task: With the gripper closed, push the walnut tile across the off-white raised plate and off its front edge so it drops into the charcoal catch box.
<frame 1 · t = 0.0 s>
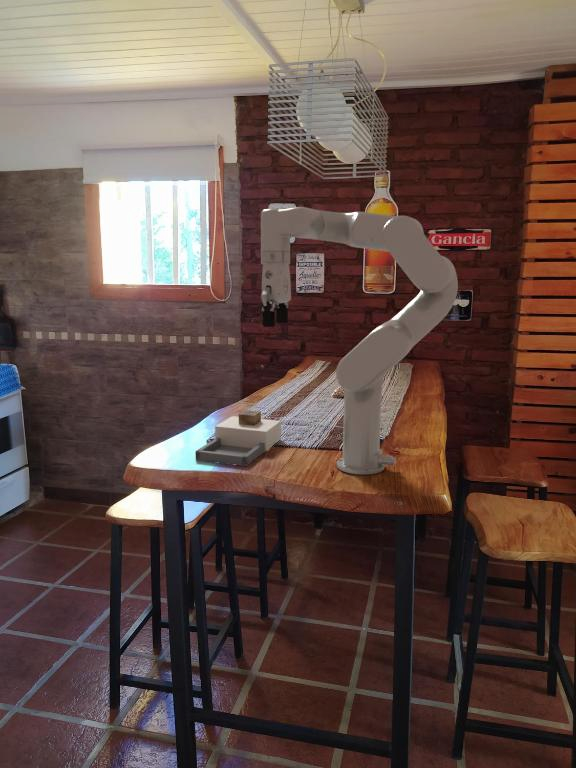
hand: (275, 324, 159), 37 cm above the table, tool pointing down, fingers open, 9 cm apart
raised plate: (248, 442, 179), on the table
catch box: (236, 452, 171), on the table
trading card: (323, 435, 189), on the table
walnut tile: (249, 422, 179), point 6 cm above the table, touching raised plate
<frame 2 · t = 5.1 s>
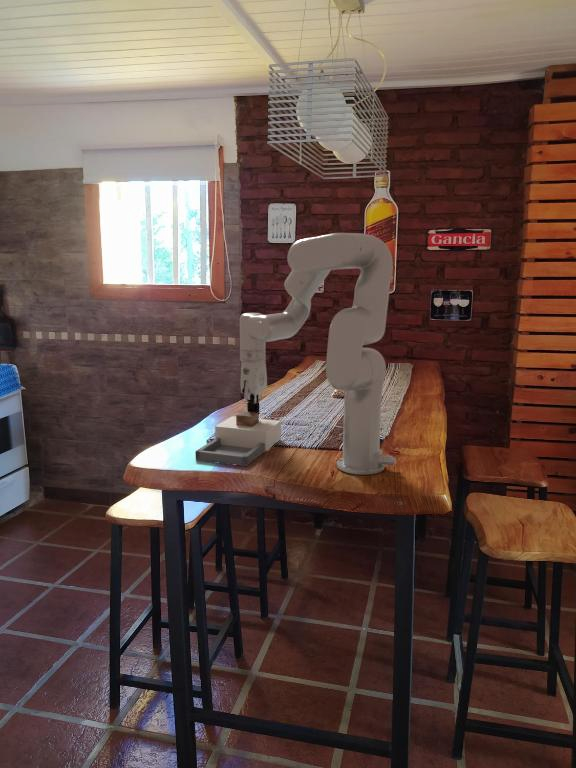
hand: (253, 415, 181), 8 cm above the table, tool pointing down, fingers closed
walnut tile: (247, 423, 177), point 6 cm above the table
everything else where it was.
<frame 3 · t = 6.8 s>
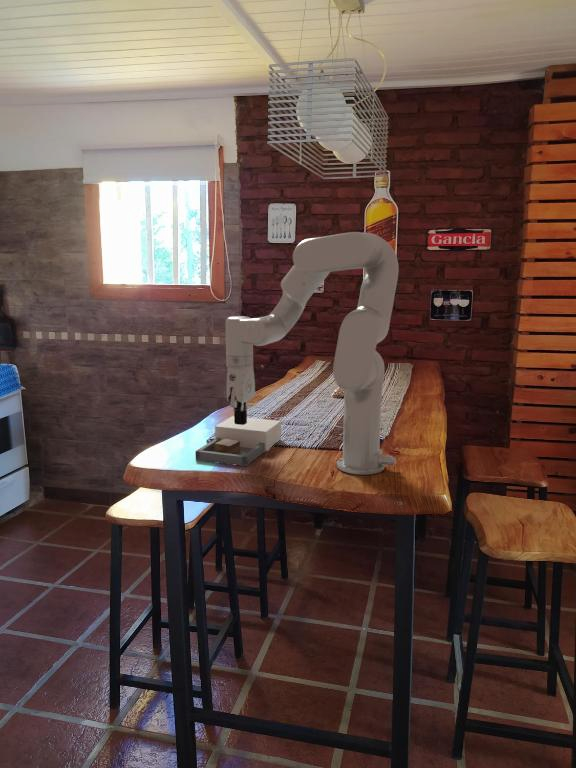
hand: (240, 423, 172), 7 cm above the table, tool pointing down, fingers closed
walnut tile: (227, 442, 168), point 4 cm above the table, tilted 180°, touching catch box
everything else where it was.
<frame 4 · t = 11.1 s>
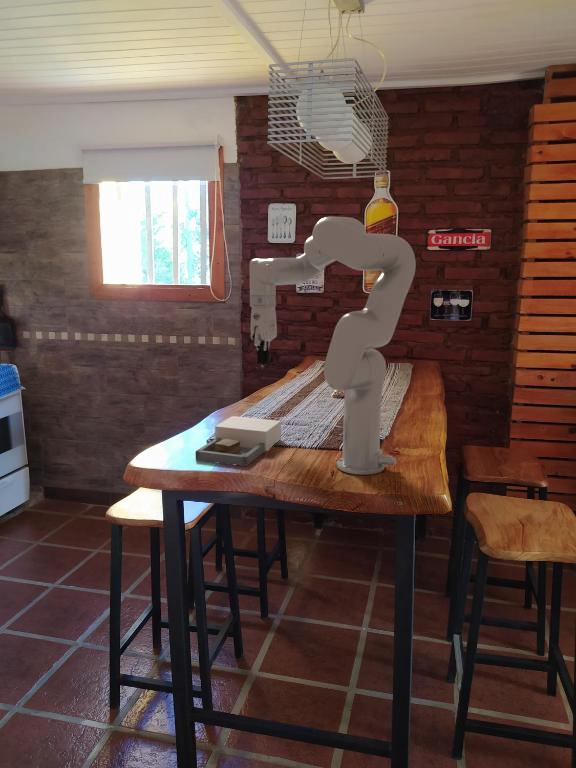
hand: (263, 363, 180), 23 cm above the table, tool pointing down, fingers closed
nothing on the table moved.
at the end: walnut tile inside the target area (1.4 cm from its centre), point 3.6 cm above the table; walnut tile moved 13.1 cm from its start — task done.
